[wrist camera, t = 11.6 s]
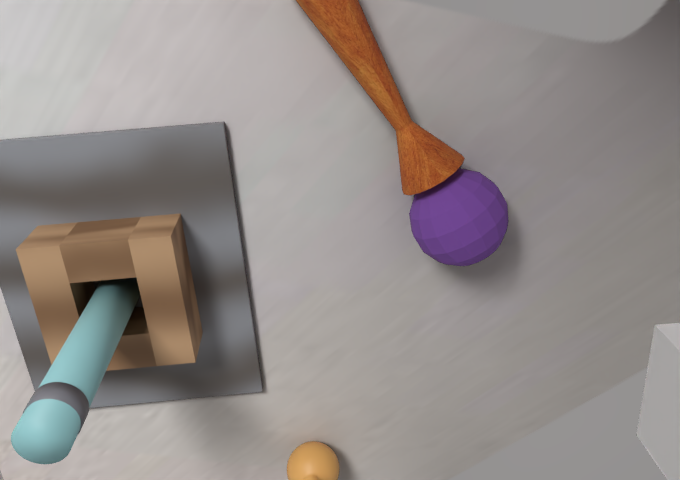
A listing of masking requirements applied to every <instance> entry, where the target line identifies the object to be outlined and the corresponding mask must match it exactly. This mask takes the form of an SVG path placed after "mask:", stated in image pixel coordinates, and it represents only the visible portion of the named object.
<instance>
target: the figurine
mask: <svg viewBox="0 0 680 480" xmlns="http://www.w3.org/2000/svg"><path fill="white" fill-rule="evenodd" d="M287 475H288V479H289V480H337V479H338V476H339V462H338V459H337V456H336V454H335V453H334V451H333V450H332V449H331V448H330V447H328V446H327V445H325V444H323V443H321V442H315V441H312V442H306V443H304V444H302V445H300V446H298V447H297V448H296V449H295V450H294V451H293V452H292V454H291V456H290V458H289V460H288V464H287Z"/></svg>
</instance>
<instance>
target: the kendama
mask: <svg viewBox="0 0 680 480" xmlns="http://www.w3.org/2000/svg"><path fill="white" fill-rule="evenodd" d="M296 1H297V2H298V3H299V5H300V6H301V7H302V9H303V10H304V11H305V13H306V14H307V15H308V17H309V18H310V19H311V20H312V22H313V23H314V24H315V26H316V27H317V28H318V30H319V31H320V32H321V34H322V35H323V36H324V37H325V39H326V40H327V41H328V43H329V44H330V45H331V47H332V48H333V49H334V50H335V52H336V53H337V54H338V56H339V57H340V58H341V60H342V61H343V62H344V64H345V65H346V66H347V67H348V69H349V70H350V71H351V73H352V74H353V75H354V77H355V78H356V79H357V81H358V82H359V83H360V84H361V86H362V87H363V88H364V90H365V91H366V92H367V94H368V95H369V96H370V98H371V99H372V100H373V101H374V103H375V104H376V105H377V107H378V108H379V109H380V111H381V112H382V113H383V114H384V116H385V117H386V118H387V120H388V121H389V122H390V124H391V125H392V126H393V128H394V129H395V130H396V136H397V145H398V154H399V163H400V173H401V182H402V191H403V193H404V194H406V195H413V194H415V197H414V200H413V203H412V206H411V210H410V213H409V215H410V222H411V229H412V233H413V235H414V238H415V239H416V241H417V242H418V244H419V246H420V247H421V249H422V250H423V252H424V253H426V254H427V255H429V256H430V257H432V258H433V259H435V260H437V261H438V262H441V263H444V264H448V265H456V266H467V265H471V264H474V263H477V262H479V261H481V260H483V259H485V258H487V257H488V256H490V255H491V254H492V253H493V252H494V251H496V249H497V248H498V247H499V245H500V244H501V242H502V240H503V237H504V235H505V233H506V230H507V226H508V209H507V203H506V201H505V199H504V197H503V196H502V194H501V192H500V190H499V188H498V187H497V186H496V185H495V184H494V183H493V182H492V181H491V180H489V179H488V178H486V177H485V176H484V175H482V174H481V173H480V172H475V171H470V170H465V169H458V168H459V167H460V166H461V165H462V163H463V161H464V157H463V156H462V155H461V154H460V153H458V152H457V151H455V150H454V149H452V148H451V147H449V146H448V145H447V144H445V143H444V142H442V141H441V140H439V139H438V138H436V137H435V136H433V135H432V134H430V133H429V132H427V131H426V130H424V129H423V128H421V127H420V126H419V125H417V124H416V123H414V122H413V121H412V120H411V118H410V116H409V114H408V111H407V109H406V107H405V105H404V102H403V100H402V98H401V96H400V94H399V91H398V89H397V87H396V85H395V82H394V80H393V78H392V76H391V73H390V71H389V69H388V67H387V64H386V62H385V60H384V58H383V56H382V53H381V51H380V49H379V47H378V44H377V42H376V40H375V38H374V35H373V33H372V31H371V29H370V26H369V24H368V22H367V20H366V18H365V15H364V13H363V11H362V9H361V6H360V4H359V2H358V0H296Z"/></svg>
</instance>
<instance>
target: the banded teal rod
mask: <svg viewBox="0 0 680 480" xmlns="http://www.w3.org/2000/svg"><path fill="white" fill-rule="evenodd" d="M139 296H140V291H139V286H138V282H137V277H135V278H123V279H112V280H101V282H100V283H99V285H98V287H97V289H96V290H95V292H94V294H93V295H92V297H91V299H90V300H89V302H88V304H87V306H86V307H85V309H84V311H83V312H82V314H81V316H80V318H79V319H78V321H77V323H76V324H75V326H74V328H73V330H72V331H71V333H70V335H69V336H68V338H67V340H66V341H65V343H64V345H63V347H62V348H61V350H60V352H59V353H58V355H57V357H56V359H55V360H54V362H53V364H52V365H51V367H50V369H49V371H48V372H47V374H46V376H45V377H44V379H43V381H42V382H41V384H40V386H39V388H38V389H37V390H36V391H35V392H34V394H33V396H32V397H31V399H30V401H29V403H28V404H27V406H26V408H25V409H24V411H23V415H22V417H21V418H20V420H19V422H18V423H17V425H16V427H15V429H14V430H13V432H12V435H11V442H12V445H13V448H14V449H15V451H16V452H17V453H18V454H19V455H20V456H21V457H23V458H24V459H26V460H28V461H31V462H34V463H38V464H52V463H56V462H59V461H61V460H62V459H64V458H65V457H66V456H67V455H68V454H69V452H70V450H71V448H72V446H73V443H74V441H75V439H76V437H77V435H78V434H79V432H80V430H81V428H82V426H83V424H84V421H85V419H86V417H87V415H88V412H89V408H90V405H91V403H92V401H93V399H94V396H95V394H96V392H97V390H98V388H99V385H100V383H101V381H102V379H103V376H104V374H105V372H106V370H107V367H108V365H109V363H110V361H111V359H112V356H113V354H114V352H115V350H116V347H117V345H118V343H119V341H120V339H121V336H122V334H123V332H124V330H125V327H126V325H127V323H128V321H129V318H130V316H131V314H132V312H133V310H134V307H135V305H136V303H137V301H138V298H139Z"/></svg>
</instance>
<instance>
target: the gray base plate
mask: <svg viewBox="0 0 680 480" xmlns="http://www.w3.org/2000/svg"><path fill="white" fill-rule="evenodd" d="M135 277H137V282H138V286H139V291H140V296H139V298H138V301H137V303H136V305H135V307H134V310H133V312H132V314H131V316H130V318H129V321H128V323H127V325H126V327H125V330H124V332H123V334H122V336H121V339H120V341H119V343H118V345H117V347H116V350H115V352H114V354H113V356H112V359H111V361H110V363H109V365H108V367H107V370H106V372H105V374H104V376H103V379H102V381H101V383H100V385H99V388H98V390H97V392H96V394H95V396H94V399H93V401H92V403H91V405H90V408H95V407H105V406H116V405H127V404H137V403H148V402H158V401H169V400H180V399H190V398H201V397H211V396H222V395H232V394H243V393H254V392H262V389H263V385H262V379H261V372H260V365H259V358H258V351H257V344H256V337H255V330H254V323H253V317H252V310H251V303H250V296H249V289H248V282H247V275H246V268H245V262H244V255H243V248H242V241H241V234H240V227H239V220H238V213H237V206H236V200H235V193H234V186H233V179H232V172H231V165H230V158H229V151H228V145H227V138H226V131H225V124H224V122H215V123H203V124H190V125H178V126H166V127H153V128H141V129H129V130H116V131H104V132H92V133H80V134H67V135H55V136H43V137H30V138H18V139H6V140H0V287H1V290H2V293H3V296H4V299H5V302H6V305H7V308H8V311H9V314H10V317H11V320H12V323H13V326H14V329H15V332H16V335H17V338H18V341H19V344H20V347H21V350H22V353H23V356H24V359H25V362H26V365H27V368H28V371H29V374H30V377H31V380H32V383H33V386H34V389H35V391H36V390H37V389H38V388H39V386H40V384H41V382H42V381H43V379H44V377H45V376H46V374H47V372H48V371H49V369H50V367H51V365H52V364H53V362H54V360H55V359H56V357H57V355H58V353H59V352H60V350H61V348H62V347H63V345H64V343H65V341H66V340H67V338H68V336H69V335H70V333H71V331H72V330H73V328H74V326H75V324H76V323H77V321H78V319H79V318H80V316H81V314H82V312H83V311H84V309H85V307H86V306H87V304H88V302H89V300H90V299H91V297H92V295H93V294H94V292H95V290H96V289H97V287H98V285H99V283H100V282H101V280H112V279H123V278H135Z"/></svg>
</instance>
